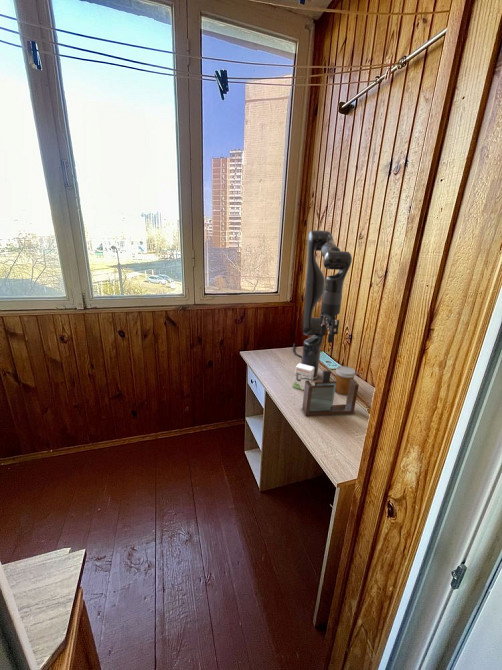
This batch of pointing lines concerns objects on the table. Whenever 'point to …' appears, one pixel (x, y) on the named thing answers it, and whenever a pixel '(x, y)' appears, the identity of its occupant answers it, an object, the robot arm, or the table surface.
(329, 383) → the sliding pane
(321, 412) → the window frame
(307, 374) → the ink box
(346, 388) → the disposable coffee cup
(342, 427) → the table surface
